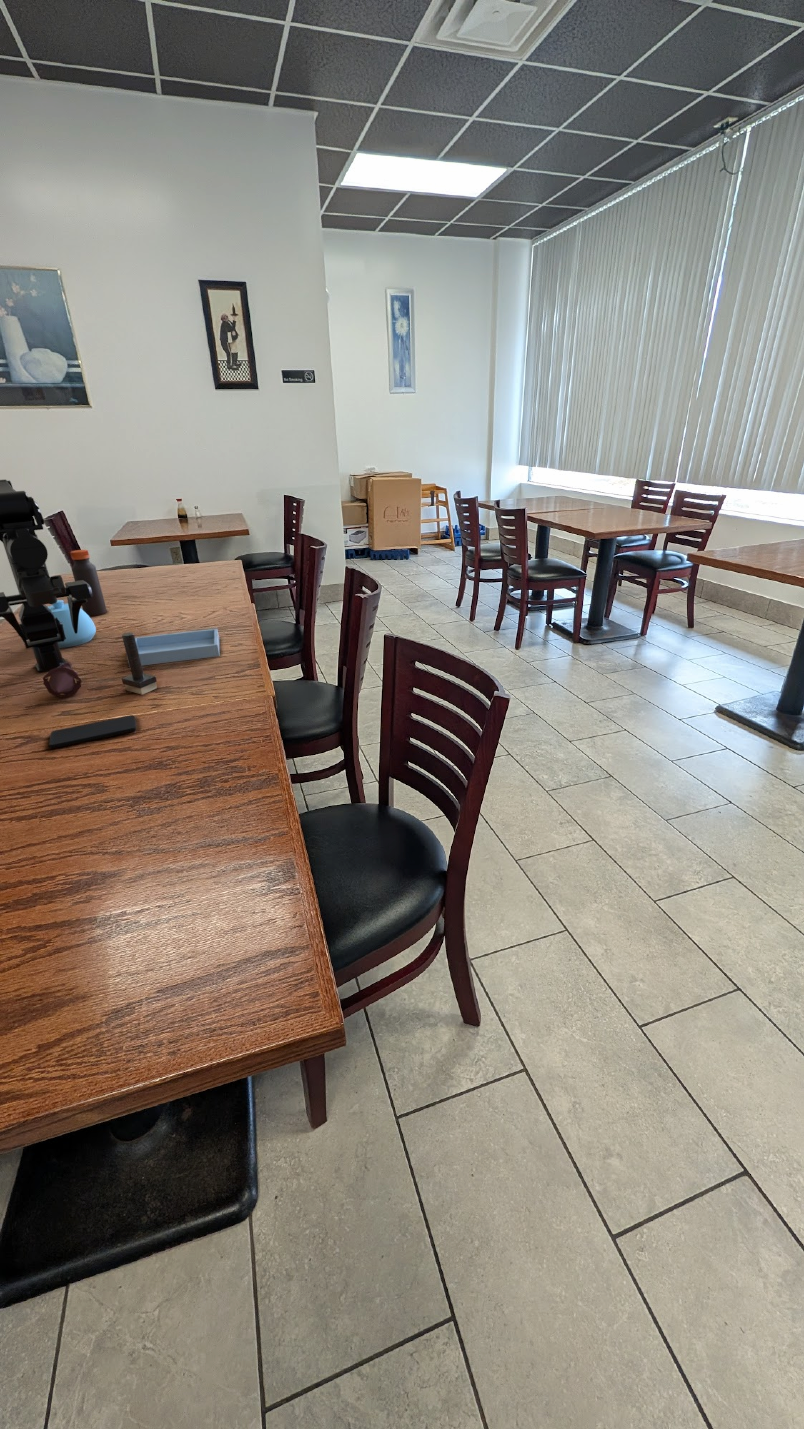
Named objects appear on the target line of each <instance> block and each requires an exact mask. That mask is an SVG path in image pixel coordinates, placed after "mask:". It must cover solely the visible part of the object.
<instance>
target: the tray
mask: <svg viewBox="0 0 804 1429" xmlns="http://www.w3.org/2000/svg"><path fill="white" fill-rule="evenodd" d="M218 630H219V629H218V628H209V629H199V630H190V631H183V632H182V631H181V632H175V633H164V634H156V635H146V636H138V637H135V640H136V644H137V648H138V653H139V657H140V661H141V665H142V667H143V666H149V665H158V664H165V663H166V664H167V663H174V662H182V661H183V662H184V661H191V660H200V659H206V658H207V659H208V658H216V657H220V636H219V631H218ZM126 659H127V664H128V668H130V665H129V661H128V657H127V656H126Z"/></svg>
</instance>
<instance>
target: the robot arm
mask: <svg viewBox="0 0 804 1429" xmlns="http://www.w3.org/2000/svg"><path fill="white" fill-rule="evenodd" d="M12 484H13V483H12V482H11V480H8V479H0V542H1V543H2V545H3V547H4V552H5V555H6V557H7V560H8V563H9V567H10V570H11V572H12V576H13V579H14V583H15V586H16V588H17V590H18V594H12V595H6V594H5V592H4V591H2V592H0V618H3V619H4V620H5V621H6V622H7V623H8V624H9V625H10V626H11V627H12V628H13V629H14V631H15V632H16V633H17V635H18V637H20V639H21V640H22V642H23V645H24V647H25V649H26V650H27V649H32V652H33V655H34V659H35V661H36V663H34V665H35V668H36V670H37V672H38V673H43V672H49V671H50V670H51V669H54V668H57V667H62V664H63V663H65V662H67V661H66V660H65V658H64V657H63V654H62V652H61V648H59V645H58V642H64V640H65V639H66V637H65V633H64V629H63V624H62V622H60V621H59V620H58V618H57V617H56V618H55V617H54V615H53V613H52V611H51V610H50V609H49V608H48V606H47V605H52V604H55V603H56V602H57V600H58V599H60V598H66V600H67V603H68V605H69V611H70V616H71V622H72V626H73V630H74V632H75V634H76V633H77V631H78V619H79V612H80V608H81V609H82V604H83V603H86V602H87V599H86V598H92V597H93V593H92V589H91V587H90V585H89V584H88V583H86V582H85V581H83V580H80V581H75V580H74V581H67V582H65V583H64V579H63V577H62V575H61V574H58V575H52V576H50V573H49V570H48V566H47V564H46V562H47V560H48V555H49V553H48V548H47V546H46V545H45V544H44V542H42V541H41V540H40V539H39V537H38V534H37V533H36V531H40V530H44V526H43V525H45V520H44V517H43V515H42V512H41V509H40V507H39V505H38V502H37V501H35V500H34V498H33V497H32V496H28V493H27V492H26V491H25V490H15V489H14V488H13V485H12ZM17 605H21V607H20V610H19V613H18V619H19V621H18V619H17V618H16V615H15V613H14V611H13V609H12V607H11V606H17ZM19 622H20V623H19ZM57 634H58V635H57Z"/></svg>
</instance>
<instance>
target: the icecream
mask: <svg viewBox="0 0 804 1429" xmlns="http://www.w3.org/2000/svg"><path fill="white" fill-rule="evenodd" d="M42 682H43V683H42V684H43V686H44V687H45V688H46V690H47V692H48V693H49V694H50V695H53V696H57V697H59V698H67V697H74V696H75V695H76V694H77V693H78V692H79V690H80V689H81V688H82V679H81V678H80V677H79V673H78V672H77V671H75V670H74V669H72V663H71V662H70V661H66V662H65V663H63V664H62V667H57V668H54V669H51V670H48V671H47V673H46V674H45V675H44V676H43V677H42Z"/></svg>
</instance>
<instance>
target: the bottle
mask: <svg viewBox="0 0 804 1429" xmlns="http://www.w3.org/2000/svg"><path fill="white" fill-rule="evenodd" d="M70 556H71V559H72V561H73V565H72V567H71V573H72V577H73V580H74V581H80V580H83V581H85V582H86V583H88V584H89V585H90V587H91V589H92V593H93V597H92V598H86V599H87V602H86V603H83V604H82V606H81V609H82V610H83V611H84V612H85V613H86V614H87V615H88V616H89V617H97V616H102V615H104V614H106V613H107V612H108V610H107V606H106V602H105V598H104V594H103V591H102V587H101V583H100V579H99V575H98V571H97V568H96V565H95V564H93V563H92V562H91V561H90V554H89V550H88V549H77V550H76V549H75V550H71V551H70Z"/></svg>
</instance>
